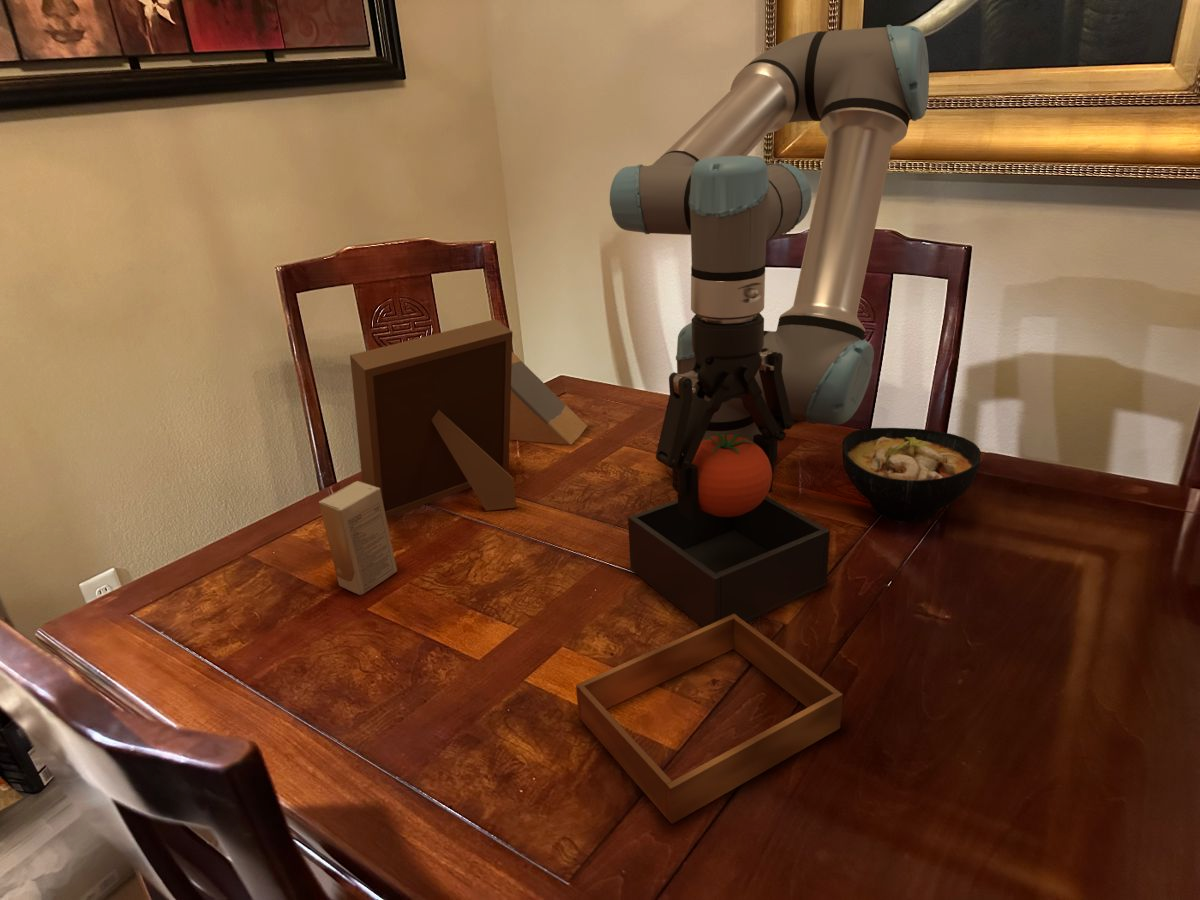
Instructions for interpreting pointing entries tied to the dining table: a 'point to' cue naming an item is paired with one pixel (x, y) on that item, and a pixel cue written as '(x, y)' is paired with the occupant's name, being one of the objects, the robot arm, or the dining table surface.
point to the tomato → (731, 475)
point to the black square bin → (729, 559)
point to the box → (740, 760)
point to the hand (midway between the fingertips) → (726, 502)
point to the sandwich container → (539, 410)
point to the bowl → (909, 470)
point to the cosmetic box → (358, 537)
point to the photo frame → (437, 417)
